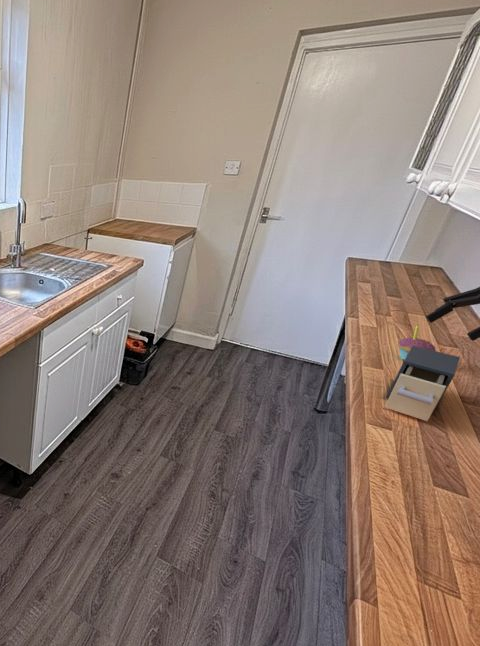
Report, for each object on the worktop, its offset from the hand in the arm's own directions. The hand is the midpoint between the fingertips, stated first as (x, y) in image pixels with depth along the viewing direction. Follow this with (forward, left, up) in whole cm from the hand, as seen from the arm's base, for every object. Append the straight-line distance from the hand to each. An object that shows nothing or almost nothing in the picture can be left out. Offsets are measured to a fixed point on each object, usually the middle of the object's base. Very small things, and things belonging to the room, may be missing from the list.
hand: (447, 328), depth 128 cm
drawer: (0, +45, -10) cm, 46 cm away
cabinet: (0, +34, -11) cm, 35 cm away
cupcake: (+4, +5, -12) cm, 13 cm away
